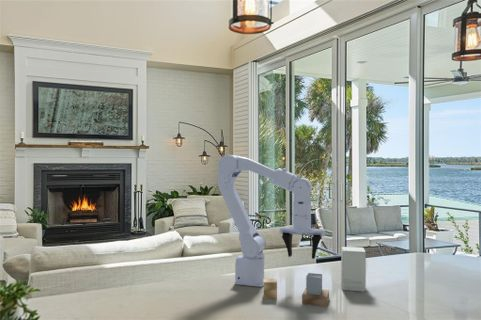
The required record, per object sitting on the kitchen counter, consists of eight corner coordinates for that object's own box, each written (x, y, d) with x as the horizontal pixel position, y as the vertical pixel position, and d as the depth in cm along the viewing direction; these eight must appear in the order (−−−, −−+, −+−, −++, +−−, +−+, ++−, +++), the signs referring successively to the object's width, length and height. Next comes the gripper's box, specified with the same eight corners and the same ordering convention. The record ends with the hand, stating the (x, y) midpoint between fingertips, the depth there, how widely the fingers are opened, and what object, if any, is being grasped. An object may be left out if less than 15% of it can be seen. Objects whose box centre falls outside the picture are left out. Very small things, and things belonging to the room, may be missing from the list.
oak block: (263, 298, 126) (263, 282, 126) (263, 294, 130) (263, 278, 130) (277, 299, 126) (277, 282, 126) (276, 294, 130) (276, 278, 130)
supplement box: (365, 291, 133) (366, 251, 133) (341, 290, 134) (341, 250, 134) (363, 285, 140) (364, 247, 140) (340, 283, 142) (341, 246, 142)
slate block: (306, 293, 123) (306, 276, 122) (308, 289, 126) (308, 272, 126) (320, 295, 121) (320, 277, 121) (322, 291, 125) (322, 274, 125)
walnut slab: (302, 305, 122) (302, 294, 122) (305, 297, 128) (305, 287, 128) (326, 307, 120) (326, 297, 120) (328, 300, 126) (329, 290, 126)
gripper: (277, 215, 136) (276, 257, 136) (322, 217, 131) (322, 261, 131) (282, 213, 143) (282, 253, 143) (325, 215, 138) (325, 256, 138)
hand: (301, 257), depth 137 cm, fingers open, 7 cm apart
